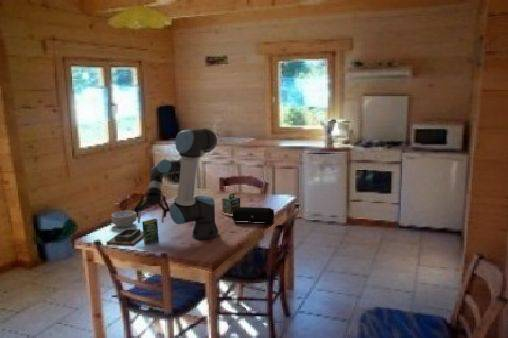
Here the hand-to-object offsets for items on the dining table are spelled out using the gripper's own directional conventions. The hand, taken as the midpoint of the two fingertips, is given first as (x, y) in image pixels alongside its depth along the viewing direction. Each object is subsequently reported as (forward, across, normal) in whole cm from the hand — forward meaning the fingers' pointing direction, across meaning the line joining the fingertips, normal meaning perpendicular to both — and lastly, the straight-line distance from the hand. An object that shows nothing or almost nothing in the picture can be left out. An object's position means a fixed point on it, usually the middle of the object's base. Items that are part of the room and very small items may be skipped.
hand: (150, 221), depth 248 cm
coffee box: (+12, -1, -4) cm, 12 cm away
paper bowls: (-12, +24, -28) cm, 38 cm away
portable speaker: (-13, -59, -29) cm, 67 cm away
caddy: (+6, +14, -9) cm, 17 cm away
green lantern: (-28, -44, -43) cm, 67 cm away
